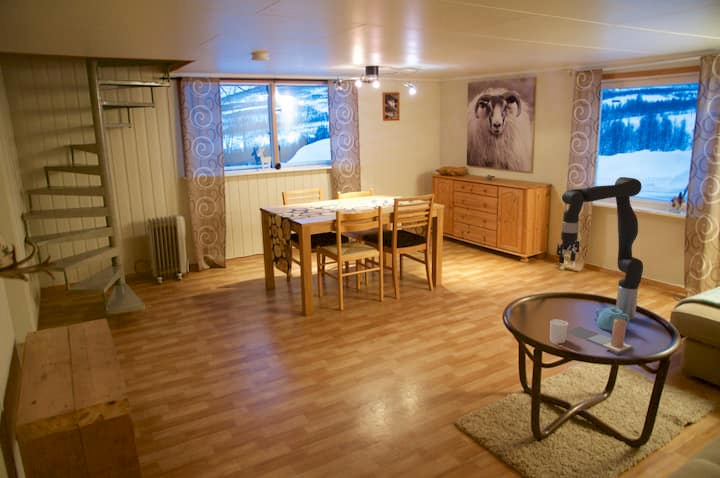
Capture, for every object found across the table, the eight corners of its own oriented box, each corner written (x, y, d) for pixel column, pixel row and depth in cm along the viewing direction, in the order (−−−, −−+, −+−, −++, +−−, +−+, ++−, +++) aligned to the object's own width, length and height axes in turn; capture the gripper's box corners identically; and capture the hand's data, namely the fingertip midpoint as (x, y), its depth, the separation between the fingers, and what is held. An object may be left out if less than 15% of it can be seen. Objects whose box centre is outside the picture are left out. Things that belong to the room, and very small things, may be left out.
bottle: (614, 341, 233) (618, 317, 231) (625, 346, 229) (629, 321, 227) (608, 344, 231) (611, 319, 228) (619, 348, 226) (622, 323, 224)
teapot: (622, 340, 240) (625, 317, 237) (587, 330, 251) (589, 308, 248) (635, 328, 254) (637, 306, 251) (600, 319, 265) (603, 298, 262)
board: (579, 328, 253) (579, 325, 253) (632, 349, 230) (633, 345, 230) (563, 333, 247) (563, 330, 247) (617, 355, 224) (617, 351, 224)
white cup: (566, 340, 240) (568, 320, 237) (565, 346, 233) (567, 326, 230) (549, 337, 243) (551, 318, 241) (547, 343, 236) (549, 324, 234)
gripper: (572, 227, 256) (569, 258, 259) (554, 231, 249) (551, 262, 252) (585, 230, 249) (582, 261, 253) (567, 233, 242) (564, 265, 246)
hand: (566, 262), depth 253 cm, fingers open, 8 cm apart
